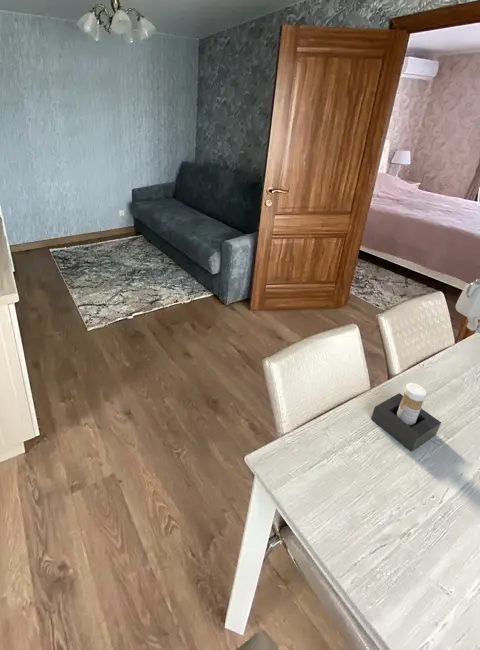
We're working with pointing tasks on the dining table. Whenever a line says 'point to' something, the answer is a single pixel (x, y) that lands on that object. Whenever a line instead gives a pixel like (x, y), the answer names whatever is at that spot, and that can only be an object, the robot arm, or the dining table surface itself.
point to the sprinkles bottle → (411, 403)
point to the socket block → (399, 429)
